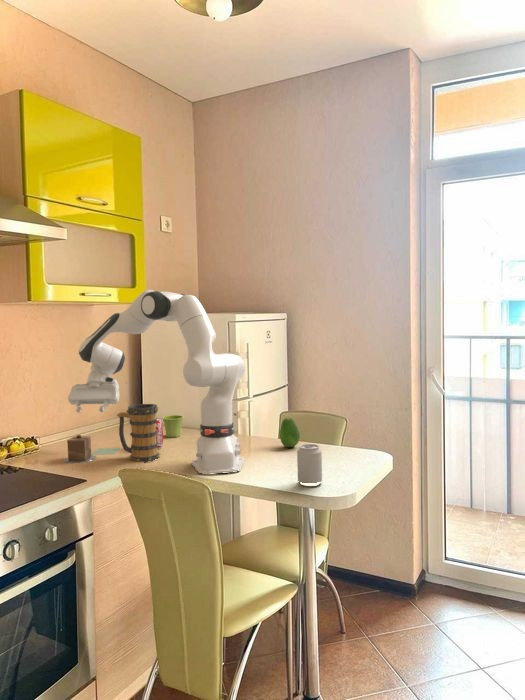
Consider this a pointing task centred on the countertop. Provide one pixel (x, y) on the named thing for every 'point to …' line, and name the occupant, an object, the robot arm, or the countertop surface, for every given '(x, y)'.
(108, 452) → the mat
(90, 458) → the slate board
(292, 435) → the avocado
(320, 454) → the can
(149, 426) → the mug
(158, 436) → the soda can
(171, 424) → the plant pot
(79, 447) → the cover box
